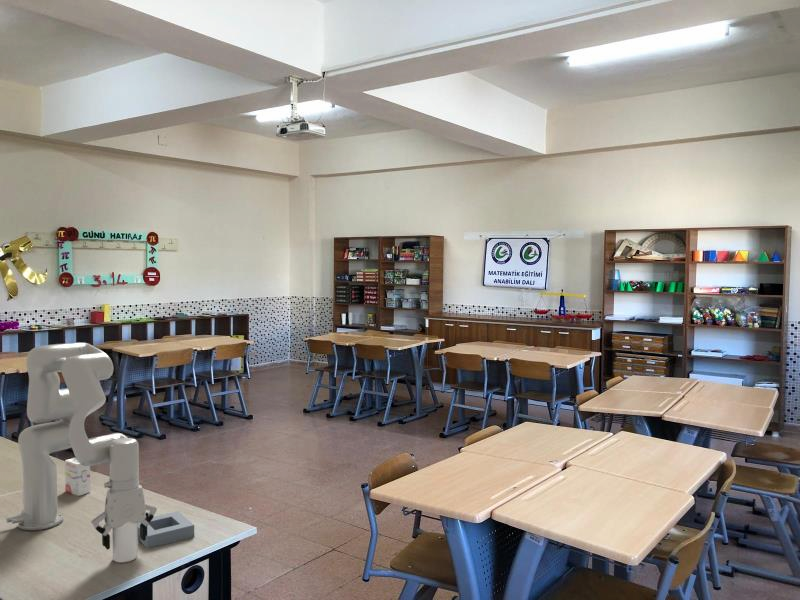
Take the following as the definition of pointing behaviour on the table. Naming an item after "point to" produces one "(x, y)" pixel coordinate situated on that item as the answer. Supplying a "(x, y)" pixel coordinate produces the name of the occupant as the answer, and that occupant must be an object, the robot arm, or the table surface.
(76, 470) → the ink cartridge box
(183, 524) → the socket block
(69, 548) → the table surface
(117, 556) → the can
